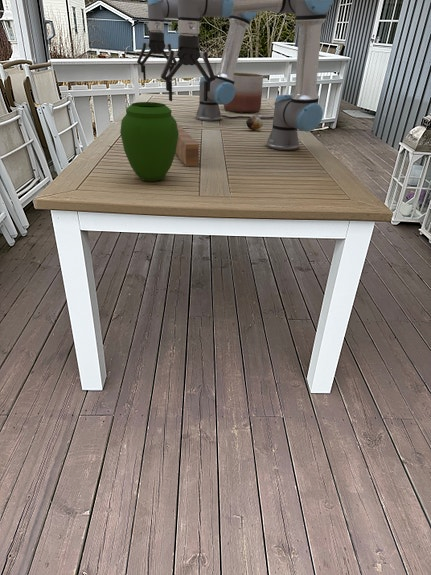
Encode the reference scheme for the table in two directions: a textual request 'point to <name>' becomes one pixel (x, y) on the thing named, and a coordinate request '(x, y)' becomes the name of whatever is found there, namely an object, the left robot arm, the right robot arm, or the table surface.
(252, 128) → the seashell
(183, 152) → the beam
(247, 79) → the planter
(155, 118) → the vase
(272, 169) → the table surface
